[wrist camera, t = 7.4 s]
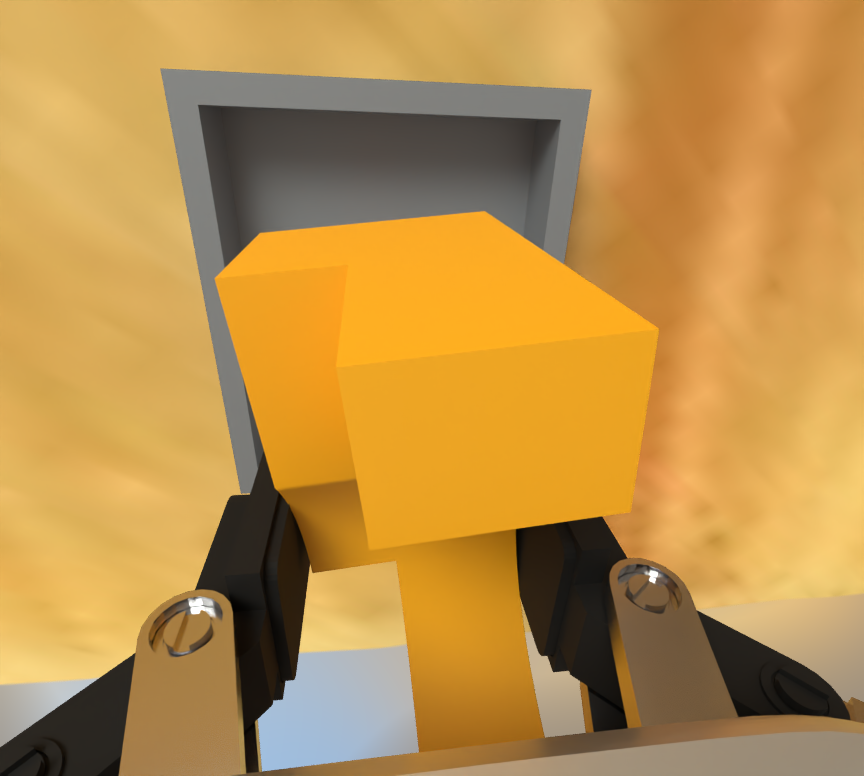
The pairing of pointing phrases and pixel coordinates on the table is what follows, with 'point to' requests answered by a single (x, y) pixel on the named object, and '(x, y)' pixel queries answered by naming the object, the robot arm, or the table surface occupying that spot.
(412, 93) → the tray
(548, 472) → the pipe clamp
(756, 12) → the table surface
